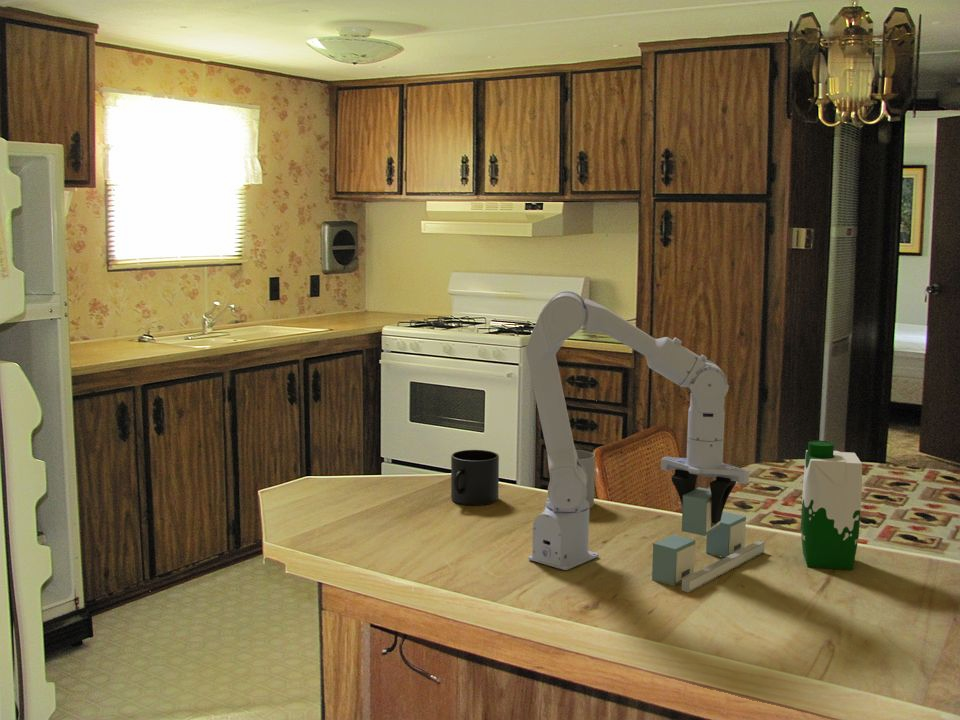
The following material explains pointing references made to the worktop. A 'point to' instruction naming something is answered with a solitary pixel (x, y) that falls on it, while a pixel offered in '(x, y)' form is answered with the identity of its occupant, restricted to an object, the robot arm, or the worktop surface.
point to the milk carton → (830, 506)
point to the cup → (588, 473)
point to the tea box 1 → (673, 559)
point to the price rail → (722, 566)
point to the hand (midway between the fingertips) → (702, 519)
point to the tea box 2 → (698, 512)
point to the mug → (474, 477)
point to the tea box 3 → (727, 535)
